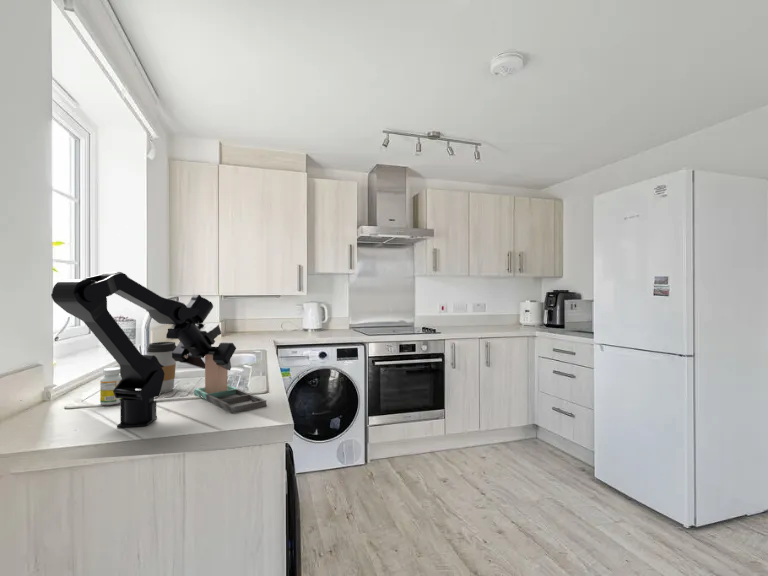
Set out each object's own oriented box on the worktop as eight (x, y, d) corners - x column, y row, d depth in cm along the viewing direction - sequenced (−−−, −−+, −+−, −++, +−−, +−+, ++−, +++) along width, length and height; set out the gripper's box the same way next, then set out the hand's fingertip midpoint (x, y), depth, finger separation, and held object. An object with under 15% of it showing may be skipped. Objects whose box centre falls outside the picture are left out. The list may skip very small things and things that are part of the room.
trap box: (266, 405, 110) (266, 400, 110) (232, 413, 103) (232, 407, 103) (225, 388, 130) (225, 383, 130) (194, 393, 123) (194, 388, 123)
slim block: (217, 395, 120) (217, 352, 120) (205, 394, 121) (205, 351, 121) (227, 391, 124) (227, 349, 124) (215, 390, 126) (215, 349, 126)
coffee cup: (140, 393, 124) (140, 344, 124) (161, 386, 132) (161, 341, 132) (163, 394, 122) (163, 345, 122) (183, 388, 130) (183, 341, 130)
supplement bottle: (107, 406, 110) (107, 371, 110) (95, 404, 112) (95, 369, 112) (127, 401, 115) (127, 367, 115) (115, 399, 117) (115, 366, 117)
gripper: (232, 315, 116) (254, 348, 126) (179, 314, 121) (205, 346, 131) (213, 346, 108) (238, 378, 119) (157, 343, 113) (187, 375, 124)
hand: (217, 368), depth 123 cm, fingers open, 9 cm apart
